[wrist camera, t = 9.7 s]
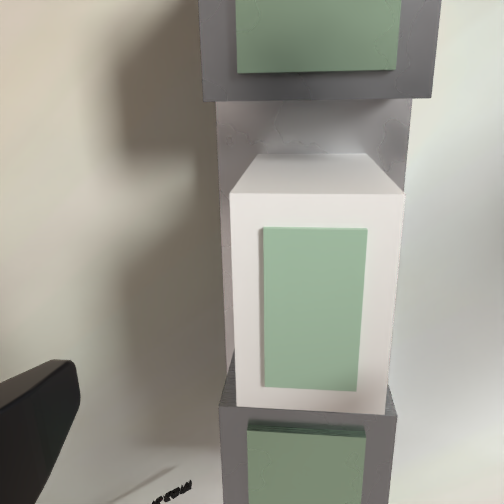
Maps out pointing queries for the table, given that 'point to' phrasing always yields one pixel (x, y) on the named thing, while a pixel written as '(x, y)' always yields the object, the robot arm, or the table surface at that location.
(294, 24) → the rail
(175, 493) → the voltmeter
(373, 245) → the block
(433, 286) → the table surface
